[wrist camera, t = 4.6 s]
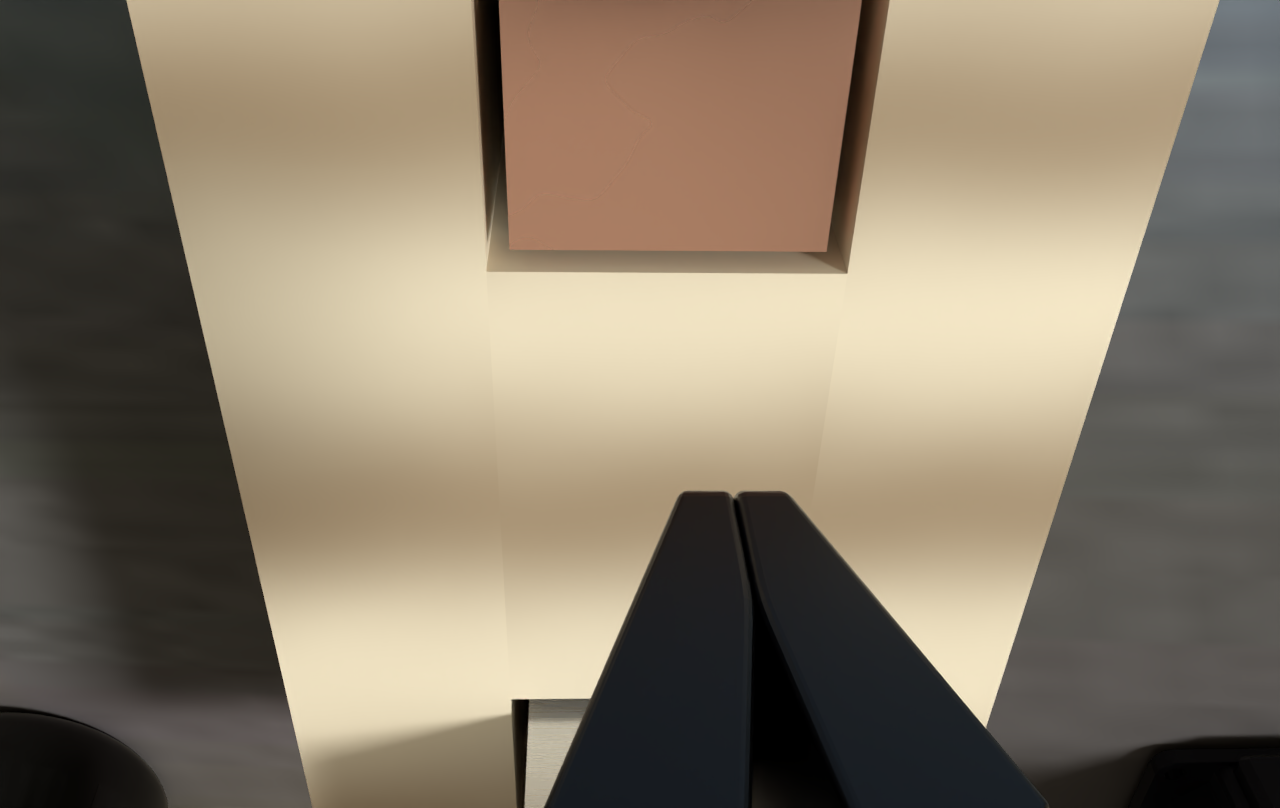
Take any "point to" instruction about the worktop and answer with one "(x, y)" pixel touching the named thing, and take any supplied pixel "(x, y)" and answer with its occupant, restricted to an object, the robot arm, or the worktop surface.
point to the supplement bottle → (70, 767)
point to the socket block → (634, 350)
